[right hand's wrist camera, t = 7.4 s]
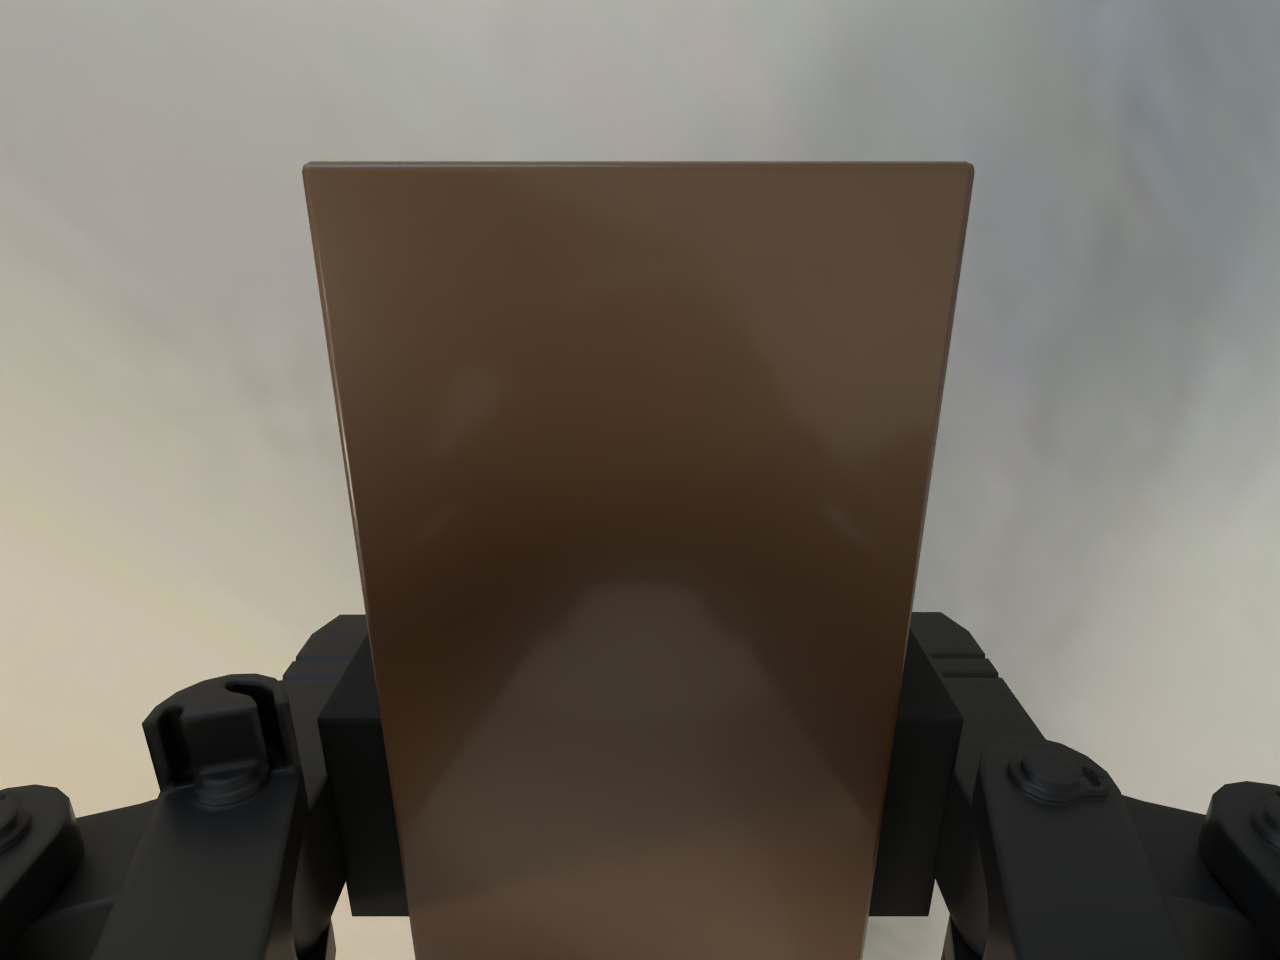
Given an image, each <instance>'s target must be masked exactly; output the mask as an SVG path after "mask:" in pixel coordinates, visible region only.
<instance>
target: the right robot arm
mask: <svg viewBox="0 0 1280 960" xmlns="http://www.w3.org/2000/svg"><path fill="white" fill-rule="evenodd" d="M142 726H143V730H144V733H145V737H146V741H147V744H148V748H149V751H150V755H151V759H152V762H153V766H154V769H155V773H156V777H157V780H158V784H159V788H160V794H159V796H158V798H157V799H155V800H151V801H148V802H145V803H141V804H138V805H133V806H129V807H124V808H120V809H115V810H111V811H106V812H102V813H97V814H93V815H88V816H84V817H79V818H76V817H75V814H74V811H73V808H72V805H71V802H70V799H69V797H67V796H66V795H65V794H64V793H63V792H61V791H60V790H59V789H58V788H55V787H48V786H42V785H28V786H21V787H13V788H6V789H3V790H0V960H335V955H336V946H335V939H334V932H333V926H332V921H331V916H332V913H333V911H334V908H335V906H336V903H337V901H338V899H339V896H340V894H341V891H342V889H343V887H344V884H345V882H346V884H347V890H348V895H349V901H350V906H351V912H352V916H409V910H408V903H407V896H406V889H405V882H404V875H403V869H402V862H401V855H400V848H399V841H398V834H397V827H396V820H395V813H394V806H393V799H392V792H391V785H390V778H389V771H388V764H387V758H386V751H385V744H384V737H383V730H382V723H381V716H380V709H379V702H378V695H377V688H376V681H375V674H374V667H373V660H372V653H371V646H370V640H369V633H368V626H367V619H366V615H339V616H338V617H336V618H335V619H333V620H332V621H330V622H329V623H328V624H326V625H325V626H323V627H322V628H320V629H319V630H317V631H316V632H315V633H313V634H312V635H311V637H310V638H309V639H308V641H307V642H306V644H305V645H304V646H303V648H302V649H301V651H300V652H299V653H298V655H297V656H296V661H293V662H292V663H291V665H290V666H289V668H288V669H287V670H286V672H285V673H284V675H283V680H279V681H278V680H276V679H275V678H272V677H267V676H263V675H259V674H230V675H226V676H222V677H218V678H213V679H209V680H205V681H202V682H199V683H197V684H195V685H192V686H190V687H188V688H185V689H183V690H181V691H178V692H176V693H175V694H173V695H172V696H171V697H169V698H168V699H166V700H165V701H163V702H162V703H160V704H159V705H157V706H156V707H155V708H154V709H153V710H152V712H151V713H150V714H149V715H148V717H147V718H146V719H145V720H144V722H143V723H142ZM935 879H936V881H937V884H938V886H939V888H940V891H941V893H942V896H943V898H944V900H945V903H946V905H947V908H948V910H949V912H950V916H949V921H948V926H947V932H946V937H945V942H944V947H943V952H942V957H941V960H1280V786H1277V785H1271V784H1264V783H1256V782H1249V781H1245V782H1238V783H1232V784H1225V785H1224V786H1223V787H1221V788H1220V789H1219V790H1218V791H1217V792H1215V793H1214V794H1213V796H1212V799H1211V802H1210V805H1209V808H1208V811H1207V814H1206V815H1203V814H1199V813H1194V812H1190V811H1185V810H1181V809H1176V808H1172V807H1167V806H1163V805H1158V804H1154V803H1149V802H1145V801H1141V800H1137V799H1134V798H1131V797H1127V796H1124V795H1122V794H1121V792H1120V790H1119V788H1118V787H1117V786H1116V784H1115V783H1114V781H1113V780H1112V778H1111V777H1110V775H1109V774H1108V773H1107V772H1106V771H1105V770H1104V769H1103V768H1101V767H1100V766H1099V765H1097V764H1096V763H1095V762H1094V761H1092V760H1091V759H1090V758H1089V757H1087V756H1086V755H1084V754H1082V753H1079V752H1077V751H1075V750H1073V749H1071V748H1069V747H1067V746H1065V745H1063V744H1060V743H1057V742H1053V741H1049V740H1046V739H1045V738H1044V736H1043V735H1042V734H1041V732H1040V731H1039V729H1038V728H1037V727H1036V725H1035V724H1034V722H1033V721H1032V720H1031V718H1030V717H1029V715H1028V714H1027V713H1026V711H1025V710H1024V708H1023V707H1022V705H1021V704H1020V703H1019V701H1018V700H1017V698H1016V697H1015V696H1014V694H1013V693H1012V691H1011V690H1010V689H1009V687H1008V686H1007V684H1006V683H1005V682H1004V680H1003V679H1002V678H999V677H998V672H997V670H996V669H995V668H994V666H993V665H992V663H991V662H990V661H989V659H985V654H984V652H983V651H982V649H981V648H980V647H979V645H978V644H977V642H976V641H975V640H974V638H973V637H972V635H971V634H970V633H969V631H967V630H966V629H964V628H963V627H961V626H960V625H959V624H957V623H956V622H954V621H953V620H951V619H950V618H948V617H947V616H945V615H944V614H943V613H941V612H912V614H911V621H910V628H909V635H908V642H907V649H906V656H905V663H904V670H903V677H902V684H901V691H900V698H899V705H898V712H897V719H896V726H895V733H894V740H893V747H892V754H891V761H890V768H889V775H888V782H887V789H886V796H885V803H884V810H883V817H882V824H881V831H880V838H879V845H878V852H877V859H876V866H875V873H874V880H873V887H872V894H871V901H870V908H869V915H868V916H928V915H929V910H930V904H931V898H932V893H933V887H934V882H935Z"/></svg>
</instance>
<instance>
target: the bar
mask: <svg viewBox="0 0 1280 960" xmlns="http://www.w3.org/2000/svg"><path fill="white" fill-rule="evenodd" d="M302 175H303V182H304V188H305V195H306V202H307V209H308V216H309V223H310V230H311V237H312V244H313V251H314V258H315V265H316V272H317V279H318V286H319V293H320V300H321V306H322V313H323V320H324V327H325V334H326V341H327V348H328V355H329V362H330V369H331V376H332V383H333V390H334V397H335V404H336V411H337V417H338V424H339V431H340V438H341V445H342V452H343V459H344V466H345V473H346V480H347V487H348V494H349V501H350V508H351V515H352V522H353V529H354V535H355V542H356V549H357V556H358V563H359V570H360V577H361V584H362V591H363V598H364V605H365V612H366V619H367V626H368V633H369V640H370V646H371V653H372V660H373V667H374V674H375V681H376V688H377V695H378V702H379V709H380V716H381V723H382V730H383V737H384V744H385V751H386V758H387V764H388V771H389V778H390V785H391V792H392V799H393V806H394V813H395V820H396V827H397V834H398V841H399V848H400V855H401V862H402V869H403V875H404V882H405V889H406V896H407V903H408V910H409V917H410V924H411V931H412V938H413V945H414V952H415V959H416V960H862V957H863V950H864V943H865V936H866V929H867V922H868V915H869V908H870V901H871V894H872V887H873V880H874V873H875V866H876V859H877V852H878V845H879V838H880V831H881V824H882V817H883V810H884V803H885V796H886V789H887V782H888V775H889V768H890V761H891V754H892V747H893V740H894V733H895V726H896V719H897V712H898V705H899V698H900V691H901V684H902V677H903V670H904V663H905V656H906V649H907V642H908V635H909V628H910V621H911V614H912V607H913V600H914V593H915V586H916V579H917V572H918V565H919V558H920V551H921V544H922V537H923V530H924V523H925V516H926V509H927V502H928V495H929V488H930V481H931V474H932V467H933V460H934V453H935V446H936V439H937V431H938V424H939V417H940V410H941V403H942V396H943V389H944V382H945V375H946V368H947V361H948V354H949V347H950V340H951V333H952V326H953V319H954V312H955V305H956V298H957V291H958V284H959V277H960V270H961V263H962V256H963V249H964V242H965V235H966V228H967V221H968V214H969V207H970V200H971V193H972V186H973V179H974V167H973V165H972V164H970V163H968V162H309V163H307V164H305V165H304V166H303V171H302Z"/></svg>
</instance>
